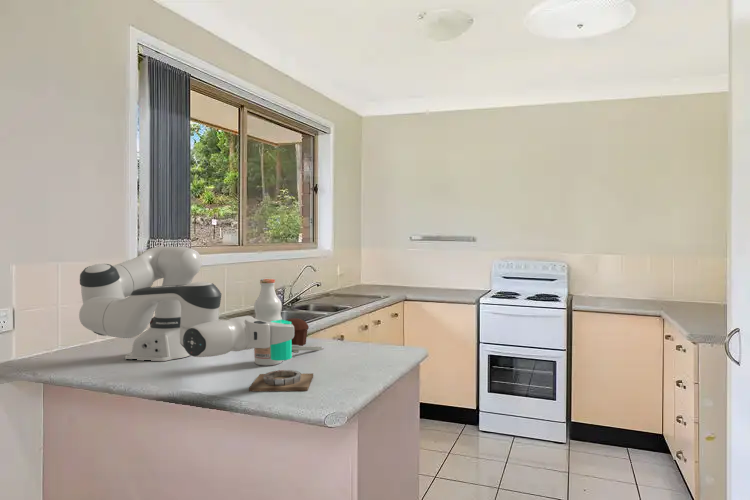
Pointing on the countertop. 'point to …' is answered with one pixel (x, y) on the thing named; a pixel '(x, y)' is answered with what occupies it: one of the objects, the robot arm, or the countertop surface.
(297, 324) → the muffin
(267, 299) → the fruit juice
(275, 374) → the ring collar
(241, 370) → the countertop surface
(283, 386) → the ring board
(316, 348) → the caliper
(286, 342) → the candle
